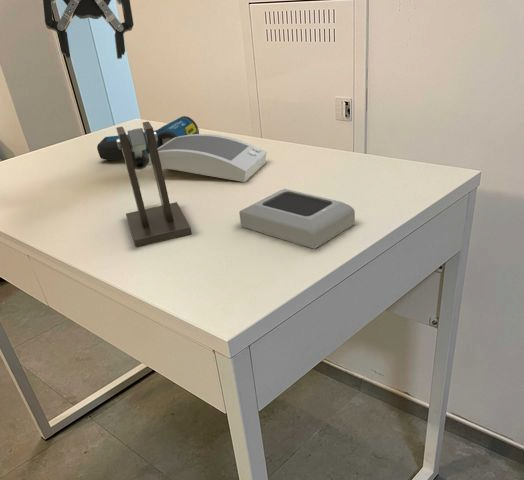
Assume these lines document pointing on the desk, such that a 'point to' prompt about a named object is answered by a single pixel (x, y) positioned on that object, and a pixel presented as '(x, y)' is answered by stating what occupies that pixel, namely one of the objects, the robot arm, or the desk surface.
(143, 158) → the latch lever
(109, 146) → the infrared thermometer
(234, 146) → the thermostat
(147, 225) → the latch bracket
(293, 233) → the grey flat block
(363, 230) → the desk surface
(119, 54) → the robot arm
